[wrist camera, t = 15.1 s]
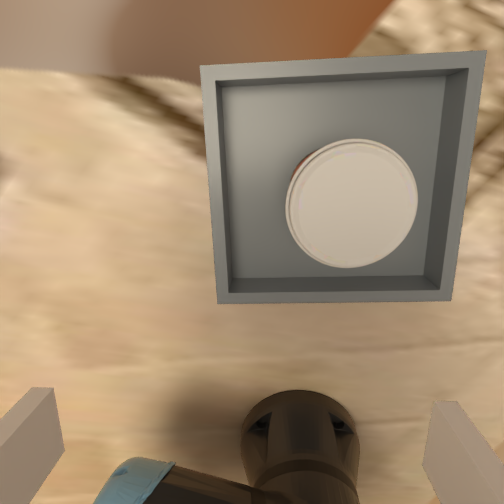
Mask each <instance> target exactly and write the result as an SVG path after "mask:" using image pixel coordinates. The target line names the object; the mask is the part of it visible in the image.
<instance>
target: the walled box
mask: <svg viewBox="0 0 504 504" xmlns="http://www.w3.org/2000/svg"><path fill="white" fill-rule="evenodd" d="M486 53H487V50H483V51H464V52H445V53H426V54H408V55H389V56H370V57H351V58H333V59H316V60H315V59H314V60H295V61H279V62H278V61H277V62H258V63H240V64H220V65H202V66H200V74H201V88H202V101H203V115H204V128H205V142H206V155H207V169H208V182H209V196H210V209H211V223H212V236H213V250H214V263H215V277H216V290H217V304H263V303H343V302H423V301H451V299H452V292H453V285H454V278H455V270H456V263H457V256H458V249H459V242H460V235H461V228H462V221H463V214H464V207H465V200H466V193H467V186H468V179H469V172H470V165H471V158H472V151H473V144H474V137H475V130H476V123H477V116H478V109H479V102H480V95H481V88H482V81H483V74H484V67H485V60H486ZM345 139H368V140H372V141H376V142H378V143H381V144H383V145H385V146H387V147H389V148H390V149H392V150H393V151H395V152H396V153H397V154H398V155H399V156H401V158H402V159H403V160H404V161H405V162H406V164H407V165H408V166H409V168H410V170H411V172H412V174H413V176H414V179H415V182H416V186H417V192H418V205H417V212H416V216H415V219H414V222H413V224H412V227H411V229H410V231H409V232H408V234H407V236H406V237H405V239H404V240H403V241H402V242H401V243H400V245H399V246H398V247H397V248H396V249H395V250H394V251H392V252H391V253H390V254H388V255H387V256H385V257H384V258H382V259H380V260H378V261H376V262H374V263H371V264H369V265H365V266H361V267H356V268H339V267H333V266H329V265H326V264H323V263H321V262H319V261H317V260H315V259H313V258H312V257H310V256H309V255H308V254H306V253H305V252H304V251H303V250H302V249H301V248H300V246H299V245H298V244H297V243H296V241H295V240H294V238H293V236H292V234H291V232H290V230H289V227H288V224H287V220H286V213H285V203H286V196H287V191H288V188H289V183H290V179H291V176H292V173H293V171H294V169H295V168H296V166H297V165H298V163H299V162H300V161H301V160H302V159H303V158H304V157H305V156H307V155H308V154H309V153H311V152H313V151H315V150H317V149H320V148H322V147H324V146H326V145H328V144H330V143H333V142H336V141H340V140H345Z"/></svg>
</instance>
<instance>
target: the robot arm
mask: <svg viewBox="0 0 504 504" xmlns="http://www.w3.org/2000/svg"><path fill="white" fill-rule="evenodd" d="M240 449H241V457H242V461H243V464H244V468H245V472H246V475H247V479H248V482H249V486H247V485H244V484H240V483H237V482H233V481H229V480H226V479H222V478H219V477H215V476H212V475H208V474H204V473H201V472H197V471H194V470H190V469H186V468H183V467H179V466H176V465H175V464H176V463H175V462H169V463H166V462H161V461H157V460H152V459H147V458H143V457H134V458H130V459H128V460H126V461H125V462H123V463H122V464H121V465H120V466H119V467H118V468H117V469H116V470H115V471H114V472H113V474H112V475H111V476H110V478H109V479H108V480H107V482H106V483H105V485H104V487H103V488H102V490H101V491H100V493H99V494H98V496H97V498H96V499H95V501H94V503H93V504H360V503H359V499H358V495H357V491H356V485H357V475H358V465H359V455H360V446H359V439H358V436H357V432H356V429H355V425H354V423H353V420H352V418H351V417H350V415H349V414H348V412H347V411H346V410H345V409H344V408H343V407H342V406H341V405H340V404H338V403H337V402H336V401H334V400H332V399H331V398H329V397H326V396H324V395H321V394H318V393H314V392H309V391H287V392H282V393H278V394H275V395H272V396H270V397H268V398H266V399H264V400H263V401H261V402H260V403H258V404H257V405H256V406H255V407H254V408H253V409H252V410H251V411H250V413H249V414H248V415H247V417H246V419H245V421H244V424H243V427H242V434H241V445H240ZM64 451H65V449H64V444H63V438H62V433H61V427H60V421H59V416H58V410H57V405H56V399H55V394H54V388H42V387H32V388H31V389H30V390H29V391H28V392H27V393H26V394H25V395H24V396H23V397H22V398H21V399H20V400H19V401H18V402H17V403H16V404H15V405H14V406H13V407H12V408H11V409H10V410H9V411H8V412H7V413H6V414H5V415H4V416H3V417H2V418H1V419H0V504H29V503H30V502H31V500H32V499H33V497H34V496H35V494H36V493H37V491H38V490H39V488H40V487H41V485H42V484H43V482H44V481H45V479H46V478H47V476H48V475H49V473H50V472H51V470H52V469H53V467H54V466H55V464H56V463H57V461H58V460H59V458H60V457H61V455H62V454H63V452H64ZM422 466H423V468H424V470H425V472H426V474H427V476H428V478H429V480H430V482H431V484H432V486H433V489H434V491H435V493H436V495H437V497H438V499H439V501H440V503H441V504H504V464H503V463H502V461H501V460H500V459H499V458H498V456H497V455H496V453H495V452H494V451H493V449H492V448H491V447H490V445H489V444H488V443H487V441H486V440H485V439H484V437H483V436H482V435H481V433H480V432H479V430H478V429H477V428H476V426H475V425H474V424H473V422H472V421H471V420H470V418H469V417H468V416H467V414H466V413H465V412H464V410H463V409H462V408H461V406H460V405H459V403H458V402H456V401H434V402H433V408H432V414H431V419H430V425H429V430H428V436H427V442H426V447H425V453H424V459H423V464H422Z"/></svg>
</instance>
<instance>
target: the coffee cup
mask: <svg viewBox="0 0 504 504" xmlns="http://www.w3.org/2000/svg"><path fill="white" fill-rule="evenodd" d="M417 205H418V192H417V186H416V182H415V179H414V176H413V174H412V172H411V170H410V168H409V166H408V165H407V164H406V162H405V161H404V160H403V159H402V158H401V156H399V155H398V154H397V153H396V152H395V151H393V150H392V149H390V148H389V147H387V146H385V145H383V144H381V143H378V142H376V141H372V140H368V139H345V140H340V141H336V142H333V143H330V144H328V145H326V146H324V147H322V148H320V149H317V150H315V151H313V152H311V153H309V154H308V155H307V156H305V157H304V158H303V159H302V160H301V161H300V162H299V163H298V165H297V166H296V168H295V169H294V171H293V173H292V176H291V179H290V183H289V188H288V191H287V196H286V203H285V213H286V220H287V224H288V227H289V230H290V232H291V234H292V236H293V238H294V240H295V241H296V243H297V244H298V245H299V246H300V248H301V249H302V250H303V251H304V252H305V253H306V254H308V255H309V256H310V257H312V258H313V259H315V260H317V261H319V262H321V263H323V264H326V265H329V266H333V267H339V268H356V267H361V266H365V265H369V264H371V263H374V262H376V261H378V260H380V259H382V258H384V257H385V256H387V255H388V254H390V253H391V252H392V251H394V250H395V249H396V248H397V247H398V246H399V245H400V243H401V242H402V241H403V240H404V239H405V237H406V236H407V234H408V232H409V231H410V229H411V227H412V224H413V222H414V219H415V216H416V212H417Z"/></svg>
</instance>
